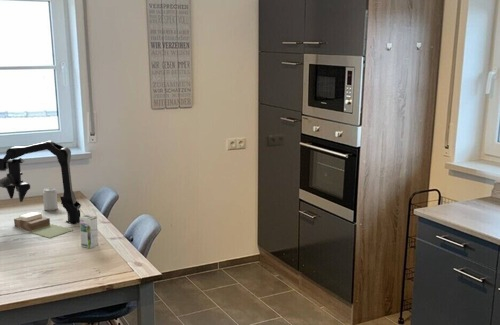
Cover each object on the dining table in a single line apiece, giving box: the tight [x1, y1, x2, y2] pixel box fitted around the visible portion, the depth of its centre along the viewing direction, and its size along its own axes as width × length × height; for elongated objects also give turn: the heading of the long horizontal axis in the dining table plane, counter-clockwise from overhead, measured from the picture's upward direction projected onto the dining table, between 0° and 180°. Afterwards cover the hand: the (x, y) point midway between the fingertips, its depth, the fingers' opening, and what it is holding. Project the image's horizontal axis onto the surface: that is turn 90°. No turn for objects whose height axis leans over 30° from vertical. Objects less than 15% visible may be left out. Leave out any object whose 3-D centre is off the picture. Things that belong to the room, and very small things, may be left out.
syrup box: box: [79, 214, 99, 249], centre depth 249 cm, size 6×6×14 cm
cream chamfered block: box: [18, 211, 43, 222], centre depth 277 cm, size 6×9×2 cm, turn 147°
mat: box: [28, 223, 74, 239], centre depth 270 cm, size 16×14×1 cm
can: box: [42, 187, 59, 212], centre depth 307 cm, size 8×8×12 cm
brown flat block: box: [13, 215, 51, 232], centre depth 278 cm, size 14×11×4 cm
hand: (16, 200), depth 281 cm, fingers open, 9 cm apart
